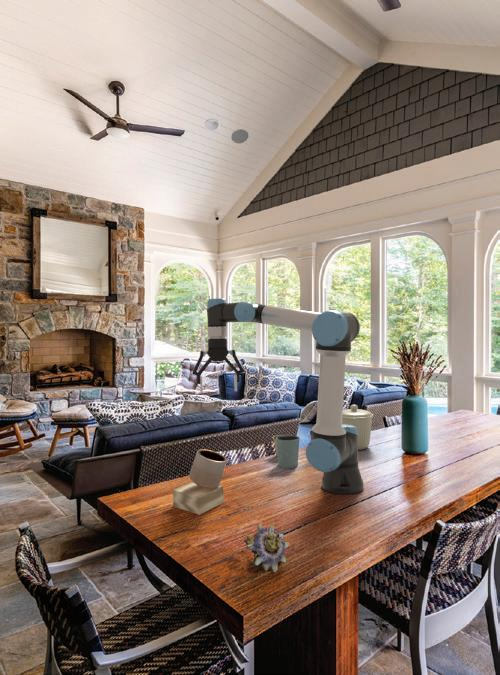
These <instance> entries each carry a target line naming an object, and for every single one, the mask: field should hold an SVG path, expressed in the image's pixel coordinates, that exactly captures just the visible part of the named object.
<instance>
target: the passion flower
mask: <svg viewBox="0 0 500 675" xmlns="http://www.w3.org/2000/svg"><path fill="white" fill-rule="evenodd" d="M284 537H285V536H284V534H283V533H278V532H276V529H275V525H274V524H272V525H270V526H269V527H268V529H267V527H264V526H263V525H262V524H261V523H258V524H257V531H256V533H254V534H253V535H251V534H248V535H247V536H246V538H244V539H243V542H244V544H246V546H245V547H246V549H247V550H249V551H251V553H252V555H253V557H254V558H253V560H252V566H253V567H257V566H259V565H260V564H261V567H262V569H263V571H264V572H267V571H268V570H270V571H272V572H273V573H274V574H275V573H277V571H278V567H279V566H278V565H279V564H278V563H279V562H281V563H283V564H286V563H287V557H286V554H285V553H287V551H286V549H287V548H288V547H289V546H290V543H289V542H288V541H287V542H286V540H285V539H284ZM252 538H253V539H252ZM251 539H252V540H251Z"/></svg>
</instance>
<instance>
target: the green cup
mask: <svg viewBox="0 0 500 675" xmlns="http://www.w3.org/2000/svg"><path fill="white" fill-rule="evenodd" d="M281 435H282V436H278V437H276V443H277V451H278V452H277V453H278V456H277V463H278V464H277V465H278V467H279V468H281V469H282V468H283V469H294V468H297V467H298V466H299V452H300V437H299V436H297V435H293V434H291V435H290V434H281Z"/></svg>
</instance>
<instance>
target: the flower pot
mask: <svg viewBox="0 0 500 675" xmlns="http://www.w3.org/2000/svg"><path fill="white" fill-rule="evenodd" d="M282 435H283V434H277V435H273V436H272V440H273V442H274V448H275V449H274V450H275V455H276V456H277V457H278V453H277V452H278V451H277V443H276V437H278V436H282Z"/></svg>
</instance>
